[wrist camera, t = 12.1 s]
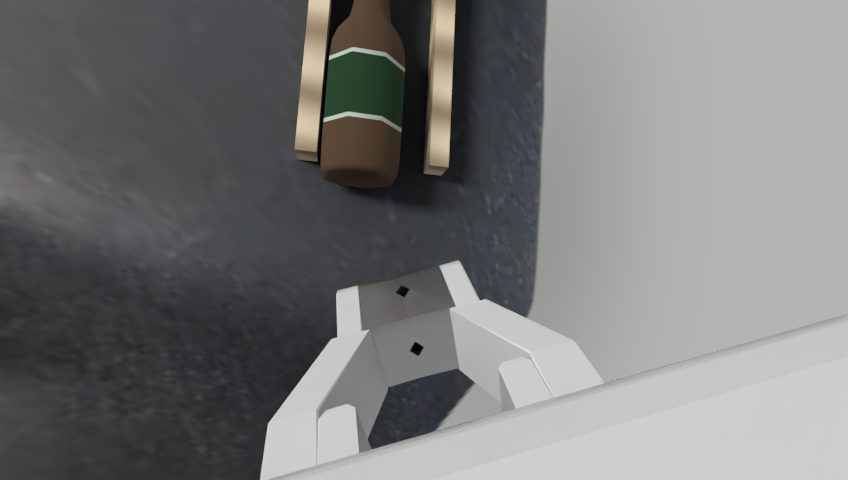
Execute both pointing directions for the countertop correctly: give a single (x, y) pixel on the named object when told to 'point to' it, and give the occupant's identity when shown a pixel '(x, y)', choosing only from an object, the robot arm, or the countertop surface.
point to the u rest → (436, 91)
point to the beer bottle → (364, 100)
